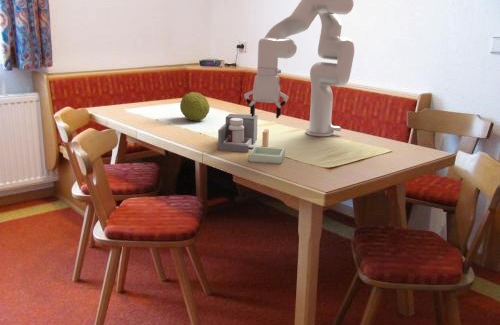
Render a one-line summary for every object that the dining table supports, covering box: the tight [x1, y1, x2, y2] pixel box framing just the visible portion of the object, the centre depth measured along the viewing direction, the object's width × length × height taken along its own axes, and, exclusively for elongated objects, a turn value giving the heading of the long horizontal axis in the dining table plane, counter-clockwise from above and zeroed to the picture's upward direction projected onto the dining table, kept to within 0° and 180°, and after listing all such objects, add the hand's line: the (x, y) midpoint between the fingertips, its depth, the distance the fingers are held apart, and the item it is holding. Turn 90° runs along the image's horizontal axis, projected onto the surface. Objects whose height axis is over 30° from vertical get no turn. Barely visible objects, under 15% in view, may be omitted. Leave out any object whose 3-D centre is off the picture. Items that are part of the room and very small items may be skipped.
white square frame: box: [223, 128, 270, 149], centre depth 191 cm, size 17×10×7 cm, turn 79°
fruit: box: [179, 91, 210, 122], centre depth 239 cm, size 16×14×15 cm
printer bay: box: [217, 113, 258, 153], centre depth 195 cm, size 12×20×11 cm, turn 169°
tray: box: [248, 146, 286, 165], centre depth 178 cm, size 12×12×3 cm
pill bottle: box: [229, 118, 244, 143], centre depth 192 cm, size 6×6×11 cm
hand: (265, 116), depth 187 cm, fingers open, 9 cm apart
